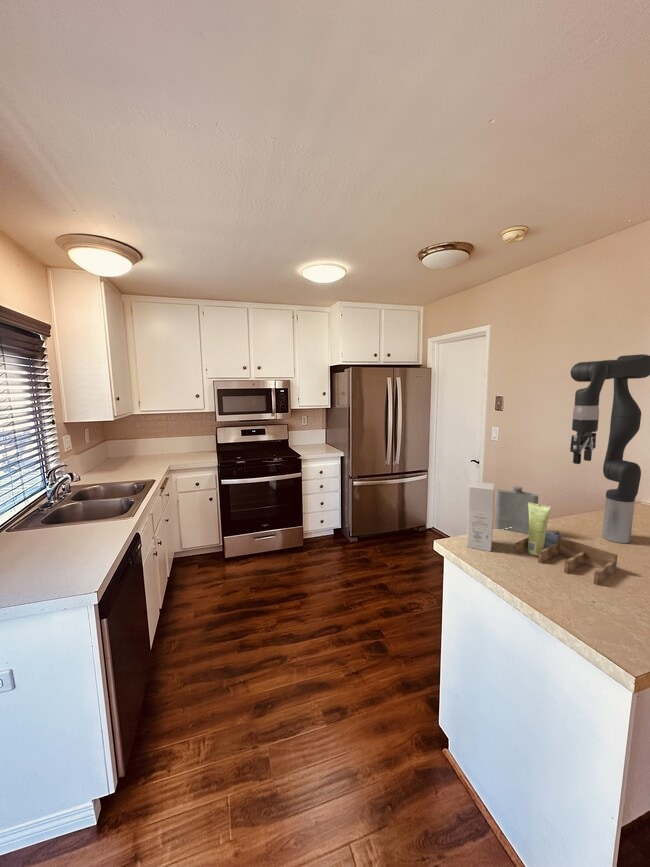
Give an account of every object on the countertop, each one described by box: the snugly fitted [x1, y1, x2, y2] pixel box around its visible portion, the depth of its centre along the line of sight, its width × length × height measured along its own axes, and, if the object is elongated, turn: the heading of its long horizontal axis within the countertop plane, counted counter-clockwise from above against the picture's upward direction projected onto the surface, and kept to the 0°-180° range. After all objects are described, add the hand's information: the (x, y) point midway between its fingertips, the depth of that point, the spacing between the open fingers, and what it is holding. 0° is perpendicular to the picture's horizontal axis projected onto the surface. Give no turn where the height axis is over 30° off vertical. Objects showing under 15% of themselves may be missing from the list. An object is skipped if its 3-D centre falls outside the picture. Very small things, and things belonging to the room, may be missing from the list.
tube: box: [527, 502, 552, 557], centre depth 134 cm, size 6×5×20 cm
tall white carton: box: [466, 481, 496, 552], centre depth 141 cm, size 9×9×25 cm
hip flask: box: [494, 485, 539, 536], centre depth 155 cm, size 16×4×20 cm, turn 56°
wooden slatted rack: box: [514, 529, 618, 586], centre depth 128 cm, size 15×27×8 cm, turn 33°
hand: (582, 462), depth 129 cm, fingers open, 8 cm apart
